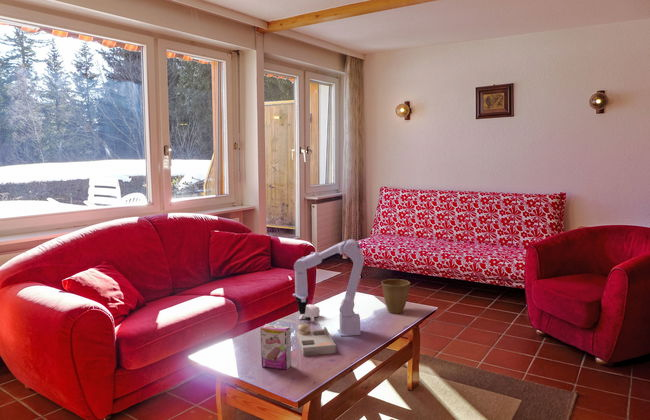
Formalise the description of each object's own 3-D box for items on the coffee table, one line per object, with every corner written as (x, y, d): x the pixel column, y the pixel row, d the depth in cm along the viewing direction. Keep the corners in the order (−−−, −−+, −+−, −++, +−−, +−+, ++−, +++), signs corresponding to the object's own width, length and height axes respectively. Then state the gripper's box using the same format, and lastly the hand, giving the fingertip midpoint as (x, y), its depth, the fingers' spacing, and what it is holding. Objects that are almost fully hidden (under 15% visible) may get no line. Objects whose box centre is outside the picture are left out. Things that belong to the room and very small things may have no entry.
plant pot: (412, 315, 262) (412, 285, 260) (383, 316, 262) (382, 286, 260) (407, 307, 277) (407, 278, 275) (380, 307, 277) (380, 278, 275)
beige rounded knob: (309, 330, 238) (309, 323, 238) (311, 334, 233) (310, 327, 233) (297, 331, 237) (297, 324, 237) (299, 335, 232) (299, 327, 232)
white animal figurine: (305, 320, 267) (292, 318, 254) (308, 304, 269) (295, 301, 256) (320, 322, 263) (307, 320, 250) (322, 306, 265) (310, 303, 252)
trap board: (325, 333, 240) (325, 326, 239) (336, 352, 216) (336, 345, 216) (296, 335, 237) (296, 328, 237) (303, 355, 214) (303, 347, 213)
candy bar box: (261, 367, 203) (259, 327, 201) (266, 362, 208) (265, 323, 206) (287, 370, 200) (285, 330, 198) (291, 365, 204) (290, 326, 202)
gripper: (290, 281, 246) (291, 308, 247) (294, 289, 232) (295, 318, 233) (305, 280, 247) (306, 307, 249) (309, 288, 233) (310, 316, 235)
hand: (301, 312), depth 241 cm, fingers open, 3 cm apart
